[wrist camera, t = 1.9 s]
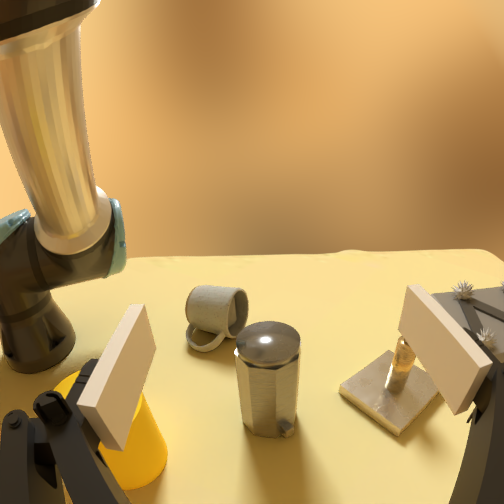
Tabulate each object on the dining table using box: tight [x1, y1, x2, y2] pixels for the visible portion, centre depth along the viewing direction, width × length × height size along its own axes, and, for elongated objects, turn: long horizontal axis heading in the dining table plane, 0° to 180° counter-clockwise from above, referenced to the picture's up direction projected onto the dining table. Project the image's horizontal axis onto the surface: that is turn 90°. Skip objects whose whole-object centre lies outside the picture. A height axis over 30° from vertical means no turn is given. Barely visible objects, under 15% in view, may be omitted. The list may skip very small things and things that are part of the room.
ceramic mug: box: [185, 285, 249, 352], centre depth 46 cm, size 11×8×8 cm
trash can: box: [234, 321, 301, 438], centre depth 29 cm, size 8×6×12 cm
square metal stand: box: [338, 336, 439, 437], centre depth 30 cm, size 10×10×10 cm
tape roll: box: [53, 370, 168, 490], centre depth 24 cm, size 10×10×9 cm
